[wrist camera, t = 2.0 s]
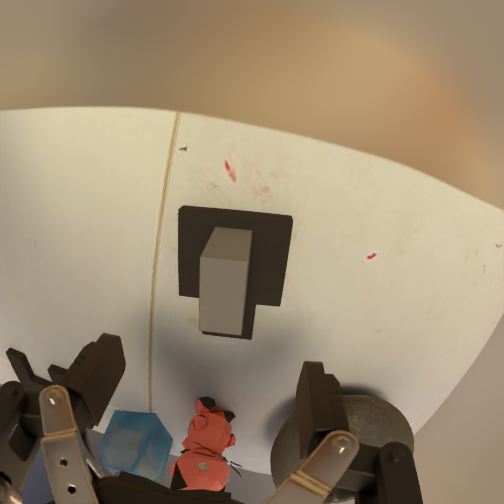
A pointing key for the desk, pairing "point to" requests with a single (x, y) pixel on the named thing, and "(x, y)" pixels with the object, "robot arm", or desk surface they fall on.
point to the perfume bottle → (136, 445)
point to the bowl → (361, 426)
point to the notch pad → (27, 376)
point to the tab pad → (261, 255)
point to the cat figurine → (205, 450)
